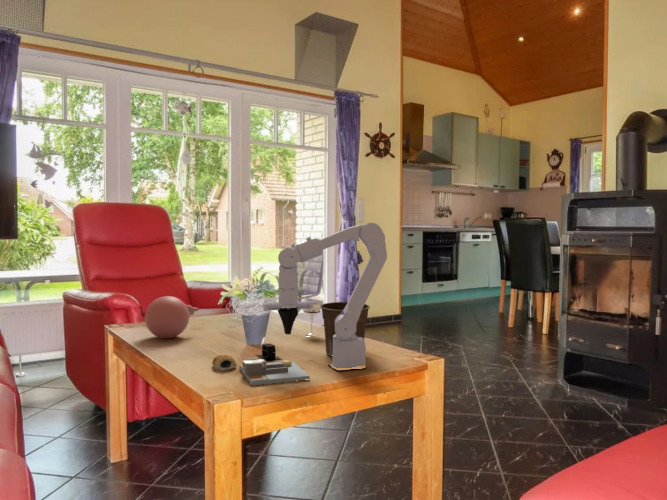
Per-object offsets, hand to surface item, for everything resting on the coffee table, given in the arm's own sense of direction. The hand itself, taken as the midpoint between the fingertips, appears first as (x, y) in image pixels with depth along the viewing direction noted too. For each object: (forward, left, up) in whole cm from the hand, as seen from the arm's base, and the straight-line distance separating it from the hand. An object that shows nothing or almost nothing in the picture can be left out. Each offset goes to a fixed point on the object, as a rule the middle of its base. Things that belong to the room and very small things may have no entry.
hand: (287, 333), depth 157 cm
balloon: (+29, -51, -10) cm, 60 cm away
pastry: (+18, -6, -10) cm, 22 cm away
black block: (+3, -12, -11) cm, 17 cm away
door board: (+6, +7, -10) cm, 14 cm away
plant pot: (-22, -9, -10) cm, 26 cm away
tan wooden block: (+12, +7, -8) cm, 16 cm away
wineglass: (-21, -40, -10) cm, 46 cm away
